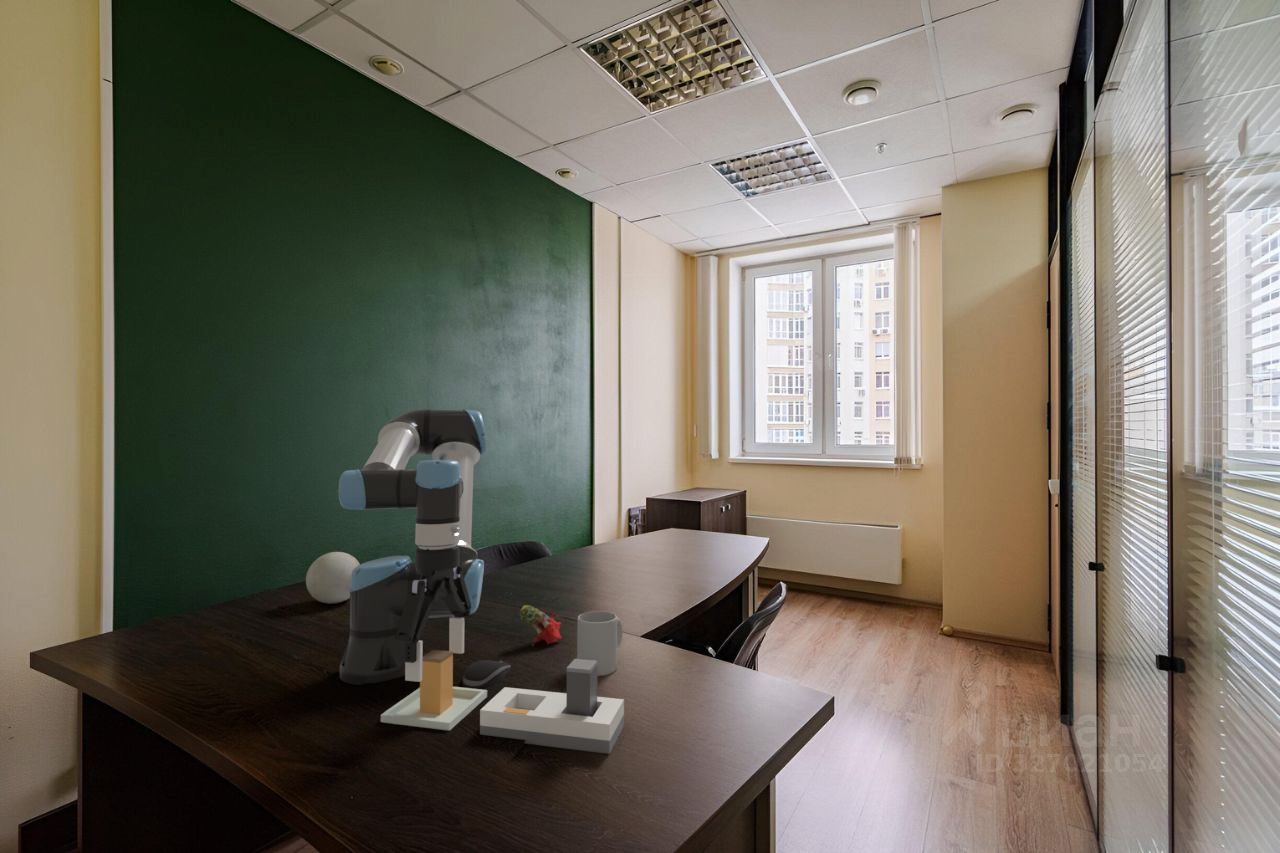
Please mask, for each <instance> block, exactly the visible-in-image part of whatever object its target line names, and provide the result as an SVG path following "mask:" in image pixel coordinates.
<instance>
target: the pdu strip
mask: <svg viewBox="0 0 1280 853" xmlns="http://www.w3.org/2000/svg"><path fill="white" fill-rule="evenodd" d="M566 700H567V692H556V691H555V692H554V691H547V690H546V691H545V690H536V689H527V688H519V687H518V688H516V687H509V686H508V687H506V686H505V687H503V688H502V689H500V691H499V692H498V693H496V695H494V696H493V698H491V699H490V700H489V701H488V702H487V703H486V704H485V705H484V706H483V707H482V708H481V709H480V710H479V715H480V716H479V735H482V736H483V735H484V736H492V737H498V738H507V739H514V740H515V739H516V740H524V741H523V744H527V745H534V746H535V745H536V746H543V747H552V748H559V749H566V750H567V749H568V750H576V751H582V752H583V751H584V752H592V753H599V754H608V755H610V754H611V753H612V750H613V748H614V746H615V744H616V743H617V741H618V739H619V737H620V734H621V733H622V731H623V729H624V728H625V698H613V697H605V696H597V711H596V713H595V714H594V716H593V717H589V716H580V715H571V714H566Z"/></svg>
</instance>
